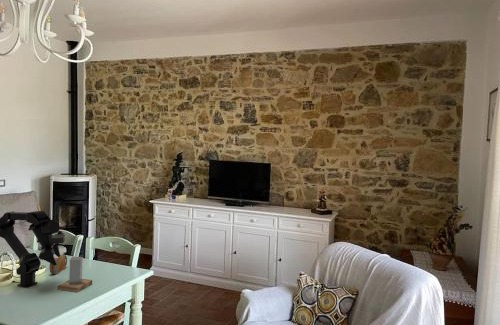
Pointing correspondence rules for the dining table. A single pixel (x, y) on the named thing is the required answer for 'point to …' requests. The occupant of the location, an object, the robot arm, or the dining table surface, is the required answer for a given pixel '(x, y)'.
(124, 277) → the dining table surface
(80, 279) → the brushed metal box
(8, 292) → the dining table surface
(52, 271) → the tin
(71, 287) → the plate
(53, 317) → the dining table surface
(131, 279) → the dining table surface
